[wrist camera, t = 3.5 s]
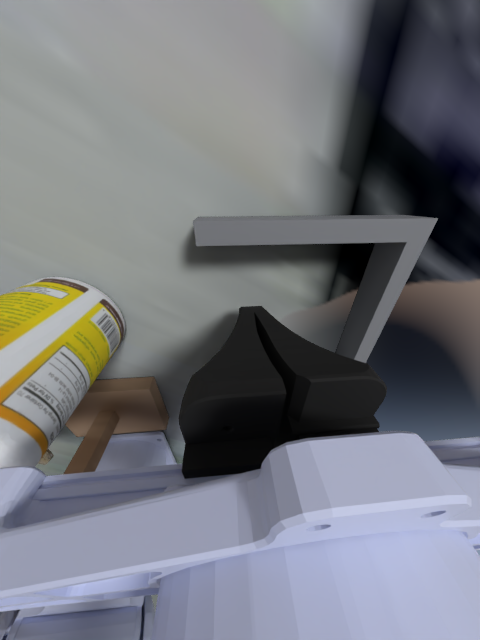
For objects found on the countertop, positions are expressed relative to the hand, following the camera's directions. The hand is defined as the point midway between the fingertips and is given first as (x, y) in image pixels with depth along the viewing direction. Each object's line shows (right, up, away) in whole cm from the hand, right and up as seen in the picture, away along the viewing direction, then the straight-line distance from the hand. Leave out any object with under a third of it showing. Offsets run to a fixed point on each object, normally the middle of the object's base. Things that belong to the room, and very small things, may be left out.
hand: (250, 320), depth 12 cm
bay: (+2, +1, +1) cm, 3 cm away
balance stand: (-12, -7, +5) cm, 15 cm away
